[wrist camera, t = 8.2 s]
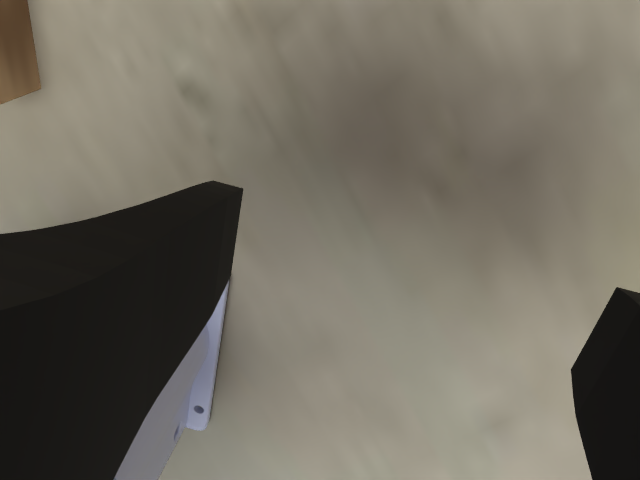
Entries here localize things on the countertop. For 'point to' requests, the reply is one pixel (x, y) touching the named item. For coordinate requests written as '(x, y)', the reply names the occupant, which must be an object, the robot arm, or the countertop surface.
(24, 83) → the oak block
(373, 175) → the countertop surface
